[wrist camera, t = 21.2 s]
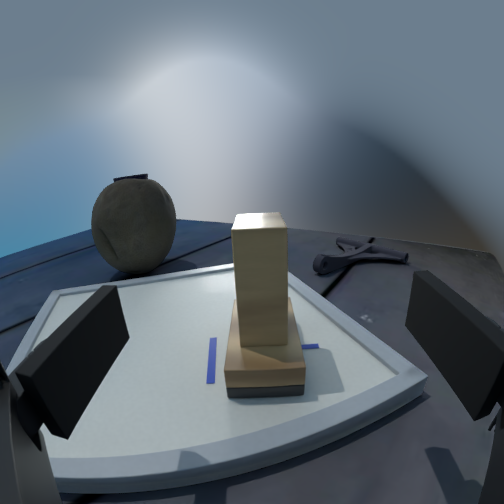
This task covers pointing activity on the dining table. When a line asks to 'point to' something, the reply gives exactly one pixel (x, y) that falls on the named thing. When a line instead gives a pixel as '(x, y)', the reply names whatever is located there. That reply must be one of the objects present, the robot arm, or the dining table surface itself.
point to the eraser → (262, 313)
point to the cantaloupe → (134, 225)
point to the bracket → (355, 255)
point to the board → (211, 387)
